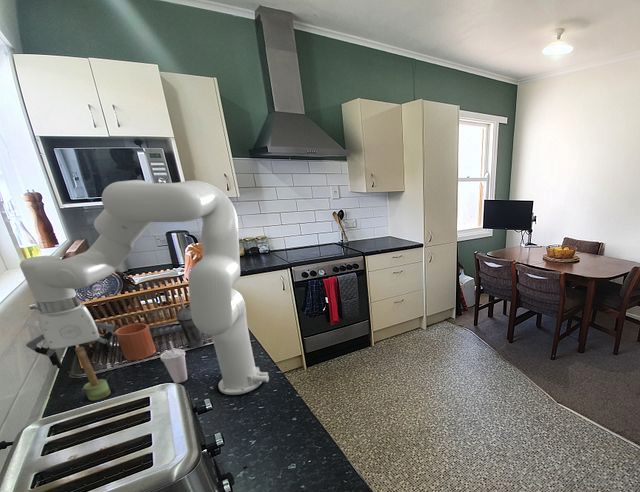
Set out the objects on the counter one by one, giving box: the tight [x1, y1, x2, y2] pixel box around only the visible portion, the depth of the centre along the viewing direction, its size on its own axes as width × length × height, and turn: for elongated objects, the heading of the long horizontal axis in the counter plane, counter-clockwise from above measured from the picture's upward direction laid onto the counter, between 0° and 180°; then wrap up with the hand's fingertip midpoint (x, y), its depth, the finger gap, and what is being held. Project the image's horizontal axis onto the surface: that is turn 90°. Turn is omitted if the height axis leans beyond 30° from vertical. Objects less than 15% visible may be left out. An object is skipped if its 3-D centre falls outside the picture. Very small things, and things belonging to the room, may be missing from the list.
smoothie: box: [159, 340, 188, 384], centre depth 108 cm, size 6×6×14 cm
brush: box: [74, 346, 112, 401], centre depth 99 cm, size 5×5×16 cm
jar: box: [114, 322, 157, 361], centre depth 122 cm, size 9×9×10 cm
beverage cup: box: [176, 295, 204, 348], centre depth 127 cm, size 7×7×20 cm
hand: (83, 360), depth 97 cm, fingers open, 9 cm apart
